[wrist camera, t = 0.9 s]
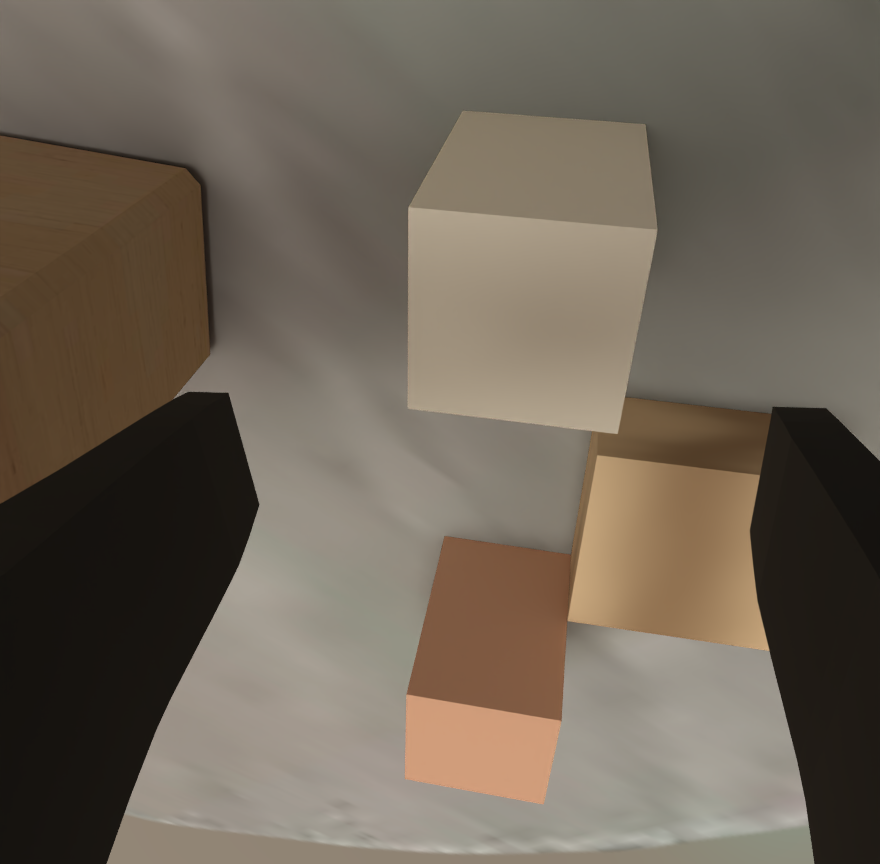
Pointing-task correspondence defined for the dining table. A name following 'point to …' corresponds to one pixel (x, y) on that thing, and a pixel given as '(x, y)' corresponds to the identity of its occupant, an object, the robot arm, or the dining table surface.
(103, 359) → the decorative block
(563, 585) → the terracotta cube
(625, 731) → the dining table surface
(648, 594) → the oak block
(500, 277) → the cream cube
